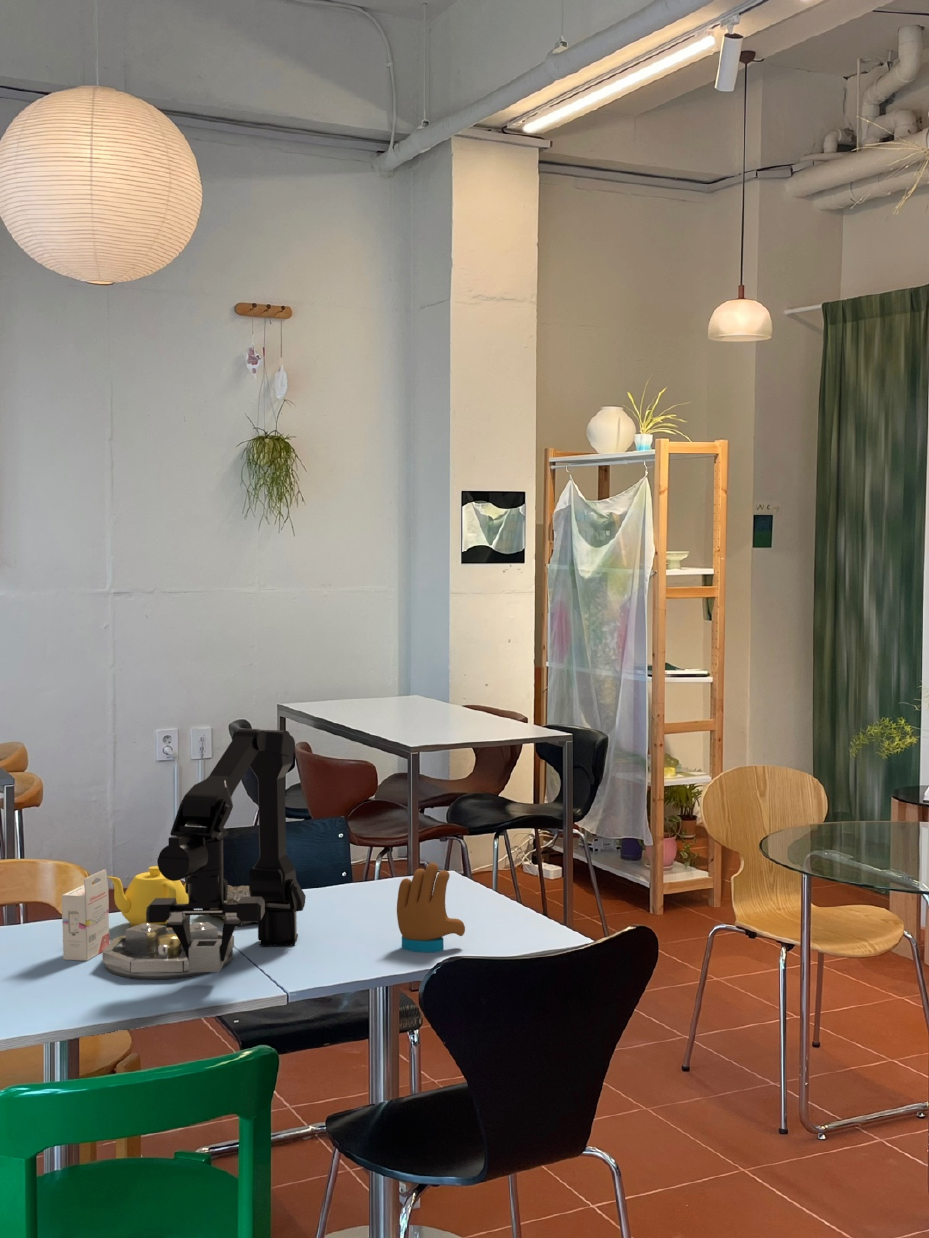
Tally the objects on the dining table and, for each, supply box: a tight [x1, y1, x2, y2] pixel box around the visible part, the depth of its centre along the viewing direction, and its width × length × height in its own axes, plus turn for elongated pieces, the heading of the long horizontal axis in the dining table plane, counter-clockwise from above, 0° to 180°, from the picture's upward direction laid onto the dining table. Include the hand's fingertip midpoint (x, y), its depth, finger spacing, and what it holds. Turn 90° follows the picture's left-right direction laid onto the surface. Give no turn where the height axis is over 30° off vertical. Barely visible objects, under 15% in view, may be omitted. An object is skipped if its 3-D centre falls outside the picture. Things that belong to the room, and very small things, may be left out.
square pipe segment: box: [189, 939, 224, 973], centre depth 208 cm, size 5×5×4 cm
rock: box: [209, 884, 258, 926], centre depth 251 cm, size 13×6×15 cm
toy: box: [396, 862, 466, 953], centre depth 229 cm, size 12×7×15 cm, turn 70°
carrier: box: [101, 921, 235, 981], centre depth 222 cm, size 22×22×6 cm
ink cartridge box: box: [61, 868, 110, 962], centre depth 226 cm, size 9×5×15 cm, turn 168°
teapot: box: [107, 865, 189, 927], centre depth 245 cm, size 20×15×12 cm
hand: (206, 960), depth 208 cm, fingers closed on square pipe segment, 5 cm apart
